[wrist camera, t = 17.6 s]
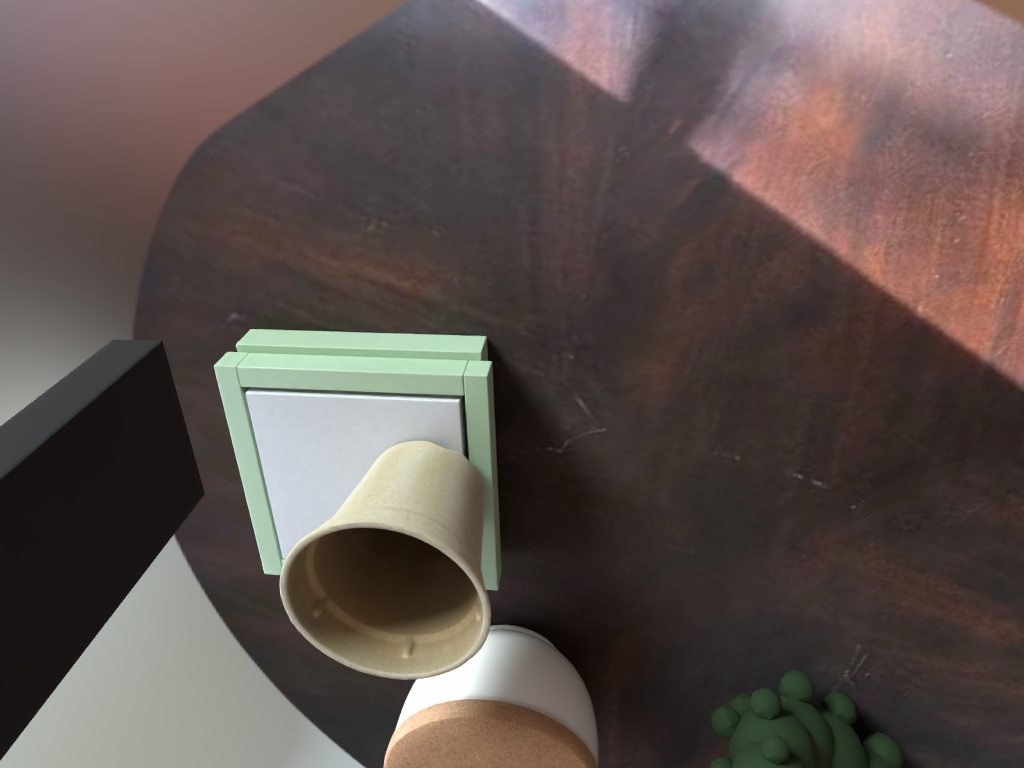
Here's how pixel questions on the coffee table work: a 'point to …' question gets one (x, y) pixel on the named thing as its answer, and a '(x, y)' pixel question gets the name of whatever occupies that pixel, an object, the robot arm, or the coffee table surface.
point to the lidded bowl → (499, 711)
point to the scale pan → (338, 445)
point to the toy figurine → (798, 731)
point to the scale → (365, 369)
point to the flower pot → (397, 568)
